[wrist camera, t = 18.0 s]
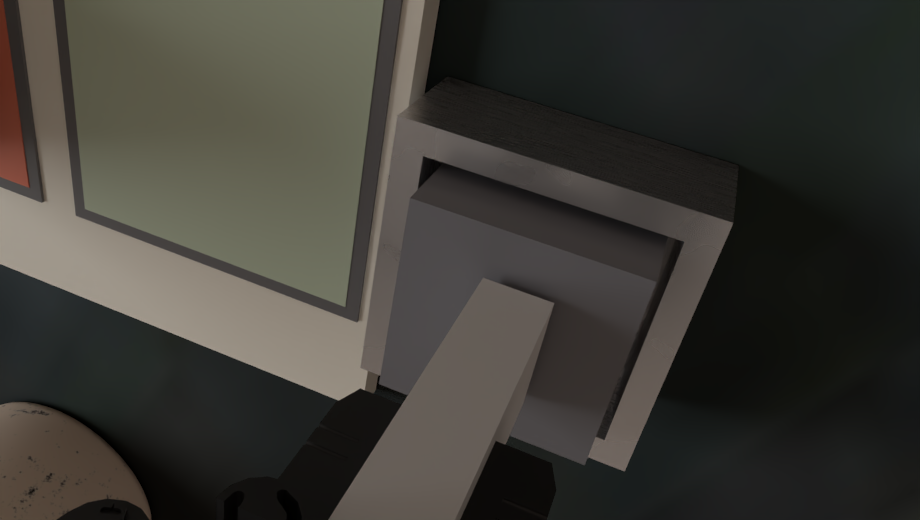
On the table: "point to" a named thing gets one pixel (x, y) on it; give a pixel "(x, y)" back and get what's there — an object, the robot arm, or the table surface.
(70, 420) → the teacup with lid
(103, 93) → the picture board
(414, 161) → the button base
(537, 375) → the button
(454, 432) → the robot arm
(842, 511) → the table surface
